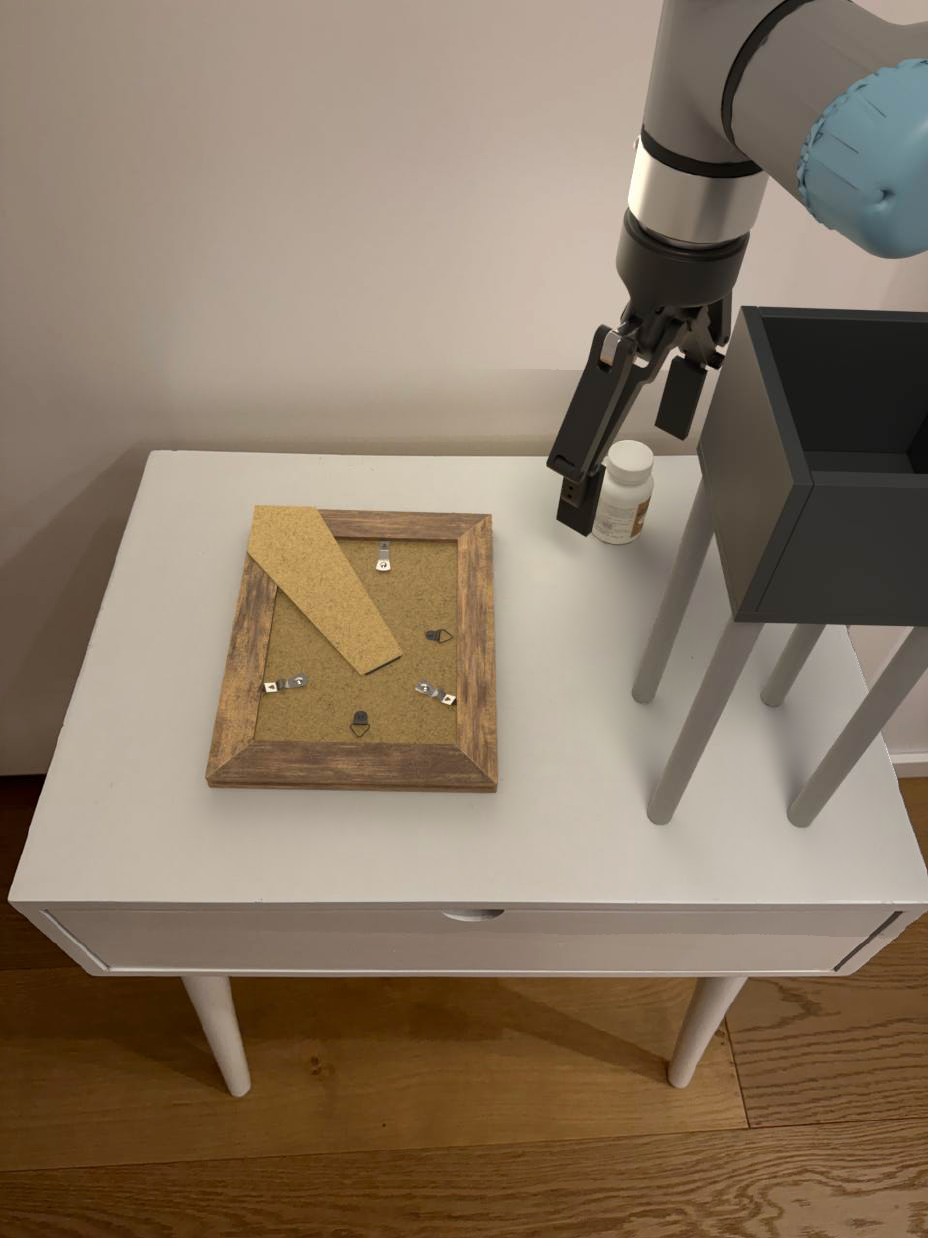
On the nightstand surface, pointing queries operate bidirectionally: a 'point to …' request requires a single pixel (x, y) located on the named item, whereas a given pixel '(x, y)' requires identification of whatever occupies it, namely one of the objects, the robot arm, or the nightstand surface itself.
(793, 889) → the nightstand surface
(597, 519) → the pill bottle
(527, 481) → the nightstand surface
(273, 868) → the nightstand surface
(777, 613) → the legged open box
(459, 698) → the picture frame
